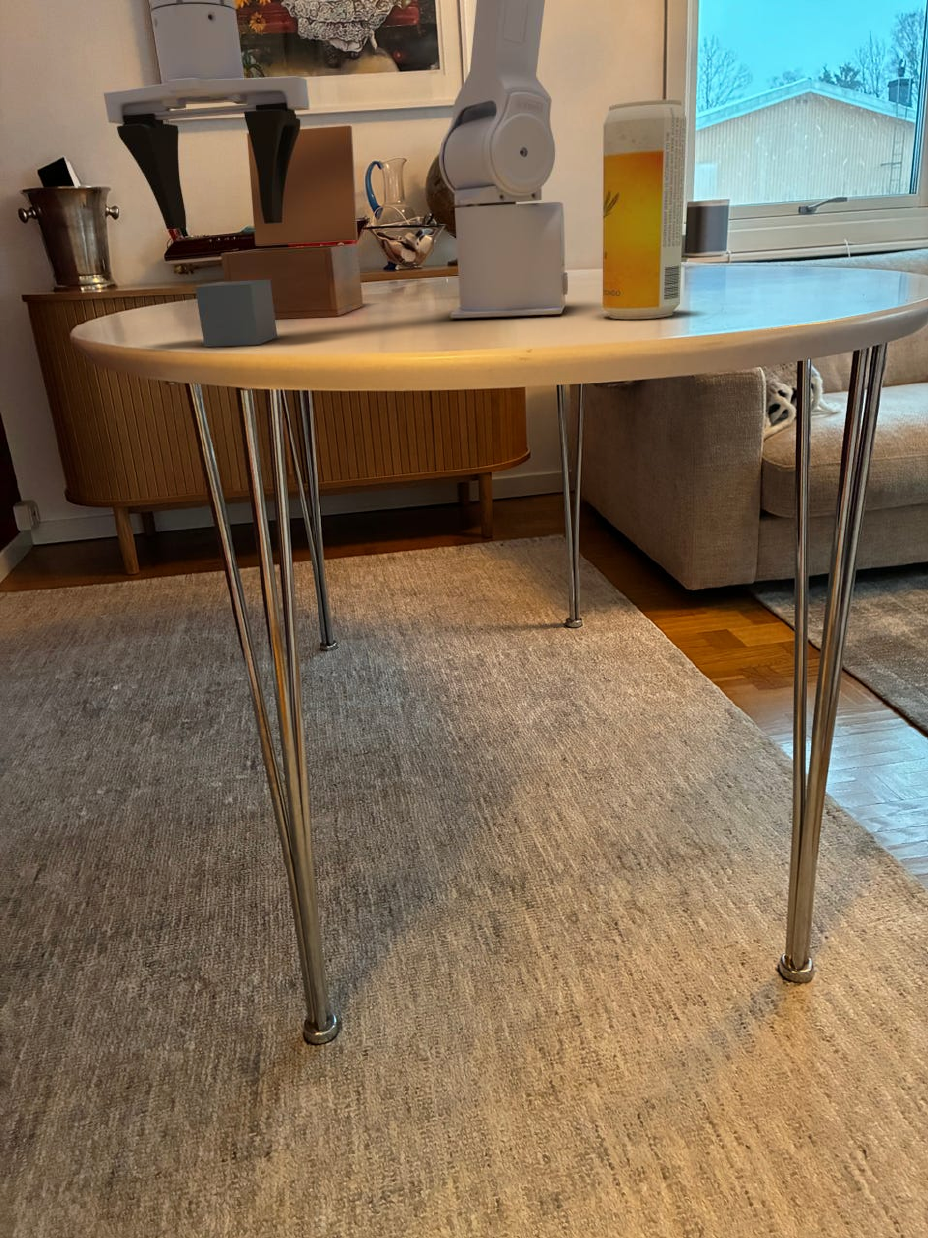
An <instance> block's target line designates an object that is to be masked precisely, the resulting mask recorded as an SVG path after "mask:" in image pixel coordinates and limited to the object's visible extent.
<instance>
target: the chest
mask: <svg viewBox="0 0 928 1238" xmlns="http://www.w3.org/2000/svg"><path fill="white" fill-rule="evenodd" d="M358 248H359V247H358V243H346V244H330V245H329V244H328V245H327V244H325V245H309V246H308V245H307V246H292V247H271V248H256V249H247V250H240V251H231V252H224V253H220V257H221V265H222V272H223V278H224V282H231V281H252V280H270V283H271V291H272V299H273V307H274V314H275V320H286V319H308V318H309V319H311V318H312V319H313V318H333V317H335V318H337V317H339V316H342V315H345V314H347V313H349V312H352V311H355V310H357V309H360V308H361V307H364V303H363V302H364V301H363V290H362V280H361V269H360V259H359V249H358Z"/></svg>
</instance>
